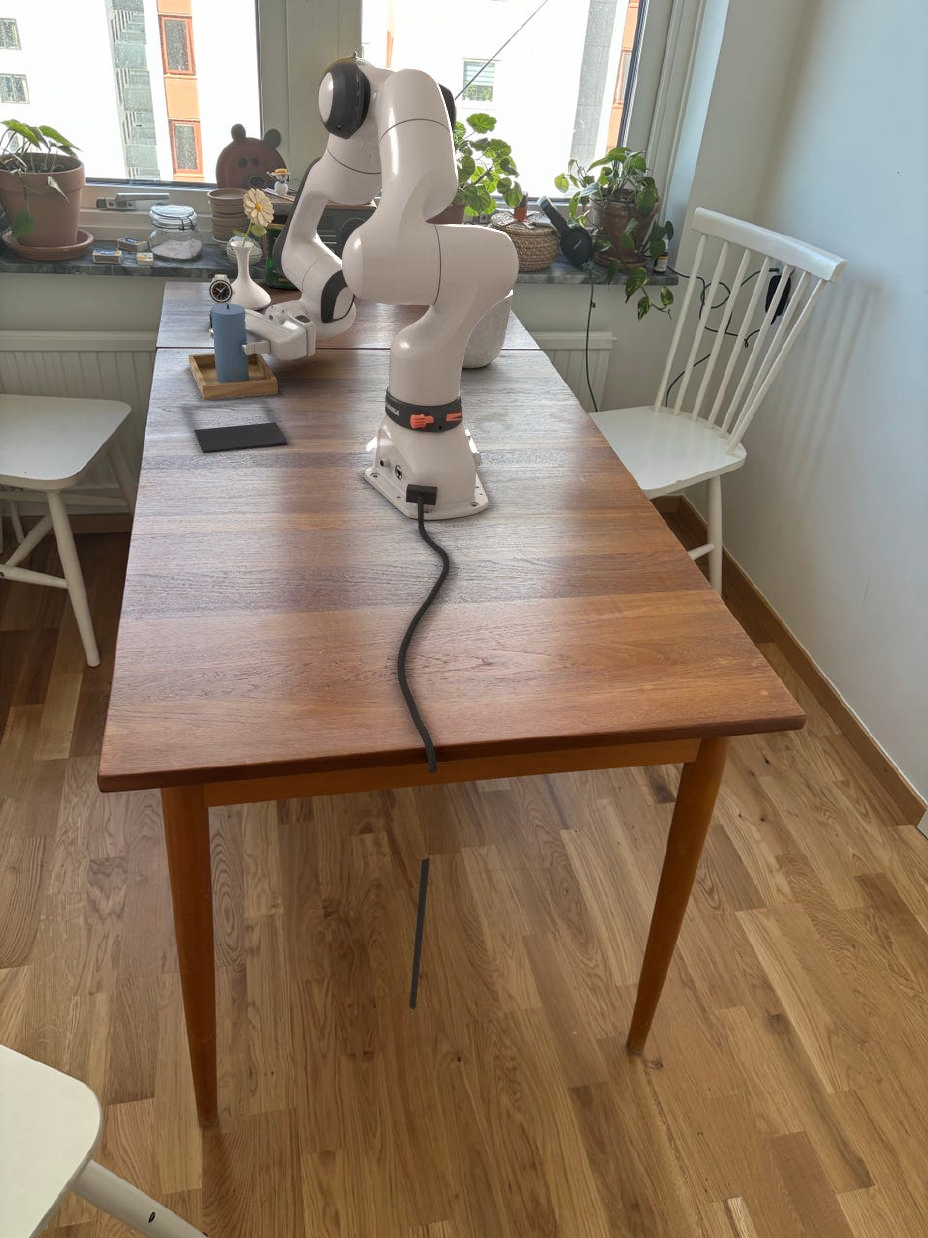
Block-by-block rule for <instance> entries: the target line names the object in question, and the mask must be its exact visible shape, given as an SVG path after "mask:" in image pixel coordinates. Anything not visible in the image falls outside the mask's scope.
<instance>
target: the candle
mask: <svg viewBox="0 0 928 1238" xmlns="http://www.w3.org/2000/svg"><path fill="white" fill-rule="evenodd" d="M210 310H211V314H212V327H213V339H212V340H213V353H215V365H216V378H217V381H218V382H219V383H233V382H247V381H249V371H248V355H247V354H245V353H243V352H242V348H241V345H242V344H243V343H246V342H247V336H246V318H245V308H244V307H243V306H240V305H237V304H218V305H215V306H214V305H212V306H211V308H210Z"/></svg>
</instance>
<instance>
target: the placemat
mask: <svg viewBox="0 0 928 1238" xmlns="http://www.w3.org/2000/svg"><path fill="white" fill-rule="evenodd" d="M193 431H194V434H195V436H196V439H197V441H198V444H199V446H200V449H201V451H202V453H203V454H206V453H215V452H225V451H233V450H244V449H255V448H264V447H275V446H284V445H288V442H287V440H286V439H285V437H284V435H283V433H282V432H281V430H280V428H279V426H278V423H276V422H275V421H274V422H264V423H253V424H252V423H251V424H242V425H230V426H220V427H219V426H218V427H210V428H209V427H208V428H199V429H198V428H197V429H193Z"/></svg>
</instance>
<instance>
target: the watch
mask: <svg viewBox="0 0 928 1238" xmlns="http://www.w3.org/2000/svg"><path fill="white" fill-rule="evenodd" d="M208 294H209V297H210V299H211V301H212V304H213V306H215V305H218V304H230V303H231V300H232V297H233V294H235V291H233V289H232V286H231V283H230V279H229V278H228V275H227V274H214V277H213V278H212V280H211V283H210V284H209V287H208ZM209 310H210V311H209V326H210V327H209V330H210V329H212V328H213V327H212V314H211V309H209Z"/></svg>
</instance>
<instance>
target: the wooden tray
mask: <svg viewBox="0 0 928 1238" xmlns="http://www.w3.org/2000/svg"><path fill="white" fill-rule="evenodd" d="M187 357H188V366H189V370H190V371H191V373H192V376H193V378H194V380H195V383H196V385H197V387H198V389H199V392H200V394H201V396H202V398H203V400H212V399H213V400H214V399H222V398H223V399H225V398H237V397H249V396H261V395H274V394H278V393H279V388H278V387H279V386H278V379H277V378H276V376H275V375H274V373H273V371H272V369H271V368H270V366H269V364H268V363H267V362H266V360H265V358H264V357H263V354H255V353H254V354H250V355H248V371H249V381H247V382H233V383H219V382H218V381H217V378H216V365H215V352H213V353H211V352H210V353H197V354H196V353H195V354H188V355H187Z"/></svg>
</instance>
